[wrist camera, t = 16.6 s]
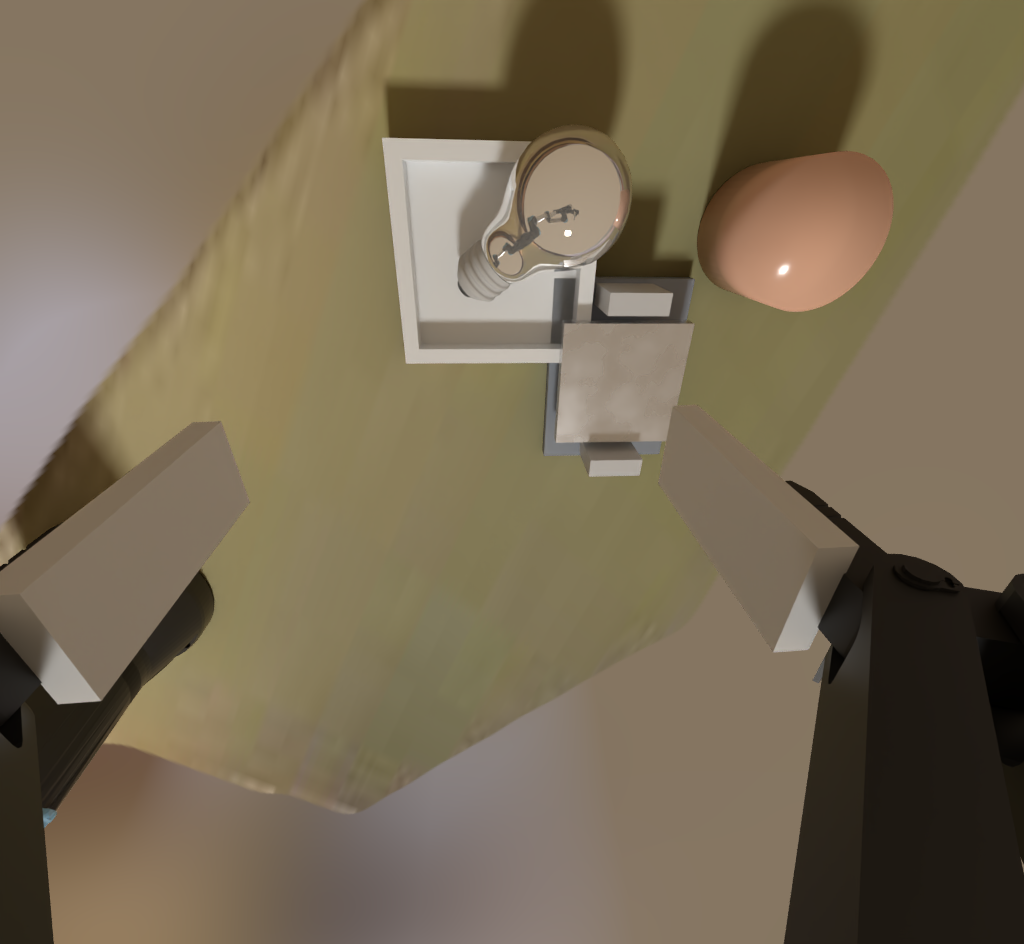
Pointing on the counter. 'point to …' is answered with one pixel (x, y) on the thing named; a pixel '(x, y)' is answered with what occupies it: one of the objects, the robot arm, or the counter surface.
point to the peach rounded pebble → (797, 229)
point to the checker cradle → (615, 303)
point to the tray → (451, 232)
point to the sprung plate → (619, 379)
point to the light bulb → (551, 212)
